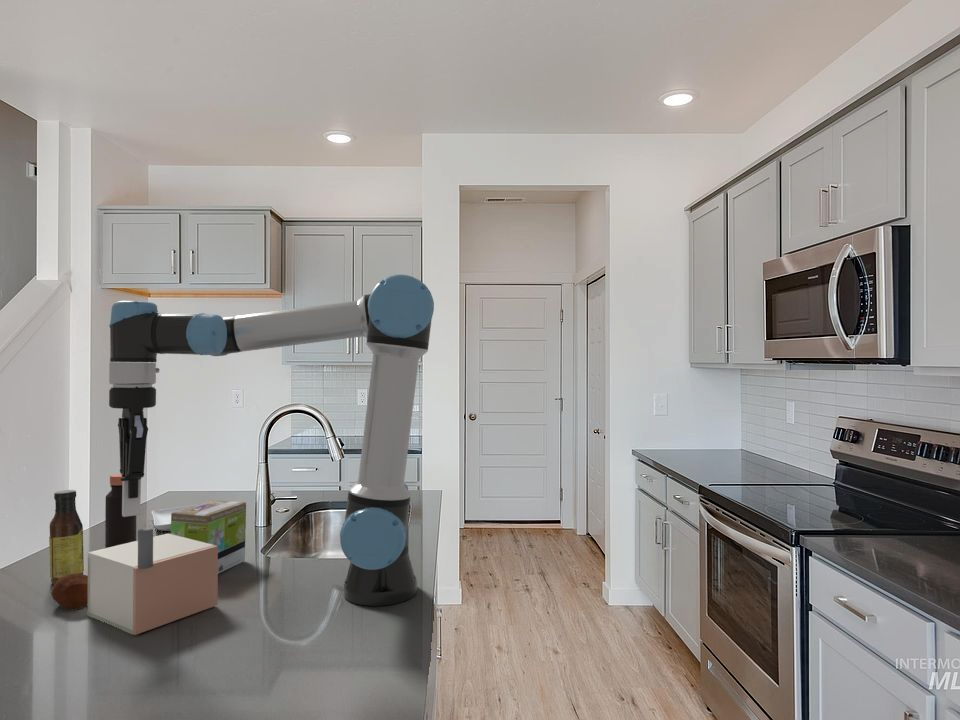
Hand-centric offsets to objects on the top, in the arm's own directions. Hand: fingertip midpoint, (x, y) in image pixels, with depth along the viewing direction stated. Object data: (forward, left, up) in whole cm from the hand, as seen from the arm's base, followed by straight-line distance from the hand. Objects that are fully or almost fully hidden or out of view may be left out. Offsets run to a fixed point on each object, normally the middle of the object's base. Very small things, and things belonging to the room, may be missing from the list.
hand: (131, 514), depth 115 cm
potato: (+20, +1, -21) cm, 29 cm away
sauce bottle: (+36, -5, -21) cm, 42 cm away
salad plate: (+61, -51, -21) cm, 82 cm away
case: (+4, -6, -20) cm, 22 cm away
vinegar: (+46, -22, -21) cm, 55 cm away
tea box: (+17, -27, -21) cm, 38 cm away
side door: (-6, -6, -20) cm, 22 cm away
